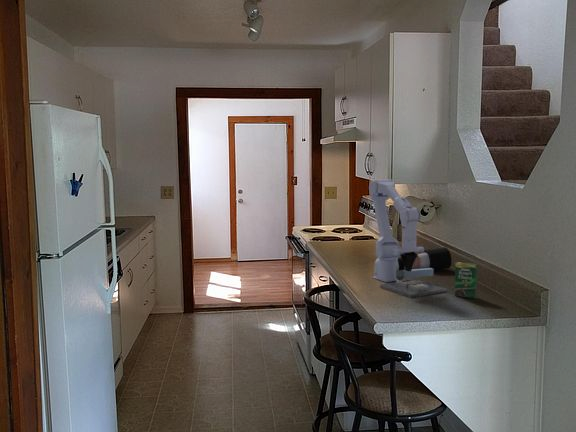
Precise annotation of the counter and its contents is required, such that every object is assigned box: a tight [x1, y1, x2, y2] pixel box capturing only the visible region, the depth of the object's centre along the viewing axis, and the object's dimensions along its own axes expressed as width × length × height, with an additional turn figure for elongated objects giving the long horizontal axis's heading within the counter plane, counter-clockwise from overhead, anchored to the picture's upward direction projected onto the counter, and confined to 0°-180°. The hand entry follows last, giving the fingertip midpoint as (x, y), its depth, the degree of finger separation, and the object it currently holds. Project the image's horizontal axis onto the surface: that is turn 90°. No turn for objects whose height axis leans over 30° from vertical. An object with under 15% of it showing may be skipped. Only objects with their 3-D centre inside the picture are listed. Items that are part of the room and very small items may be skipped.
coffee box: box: [454, 261, 478, 299], centre depth 207 cm, size 8×3×13 cm, turn 58°
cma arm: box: [396, 268, 435, 279], centre depth 225 cm, size 18×3×3 cm, turn 111°
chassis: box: [379, 278, 448, 299], centre depth 218 cm, size 18×19×3 cm
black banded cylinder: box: [396, 246, 453, 271], centre depth 251 cm, size 10×34×10 cm, turn 96°
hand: (408, 270), depth 218 cm, fingers closed
